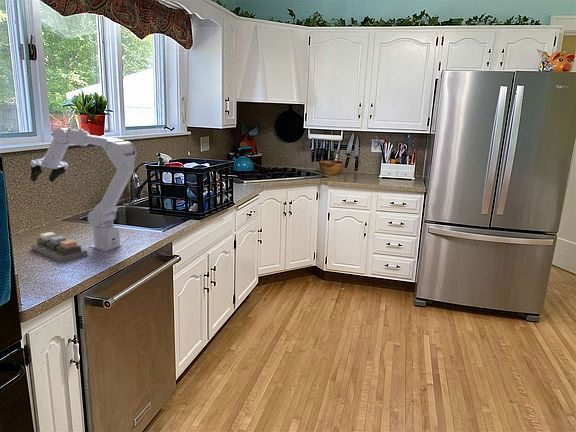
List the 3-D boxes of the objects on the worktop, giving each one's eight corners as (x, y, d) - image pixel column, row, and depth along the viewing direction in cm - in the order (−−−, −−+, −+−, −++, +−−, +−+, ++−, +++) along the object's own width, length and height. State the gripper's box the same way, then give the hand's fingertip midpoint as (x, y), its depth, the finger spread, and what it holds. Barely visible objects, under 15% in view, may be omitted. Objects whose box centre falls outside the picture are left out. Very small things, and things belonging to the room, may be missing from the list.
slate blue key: (66, 242, 159) (65, 237, 159) (55, 245, 156) (55, 239, 156) (61, 240, 161) (60, 235, 161) (50, 242, 158) (49, 237, 158)
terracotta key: (76, 246, 155) (76, 241, 154) (65, 249, 152) (65, 244, 151) (71, 244, 157) (70, 239, 157) (60, 247, 154) (59, 241, 154)
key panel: (87, 255, 157) (86, 245, 156) (60, 262, 150) (59, 251, 149) (58, 243, 170) (57, 233, 169) (31, 249, 162) (30, 239, 161)
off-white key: (56, 238, 163) (55, 233, 163) (45, 241, 160) (45, 236, 160) (51, 236, 166) (50, 231, 165) (40, 239, 162) (40, 234, 162)
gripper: (66, 148, 172) (53, 174, 177) (31, 145, 159) (18, 173, 164) (75, 159, 170) (62, 185, 175) (41, 157, 157) (27, 185, 162)
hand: (41, 180), depth 169 cm, fingers open, 7 cm apart
